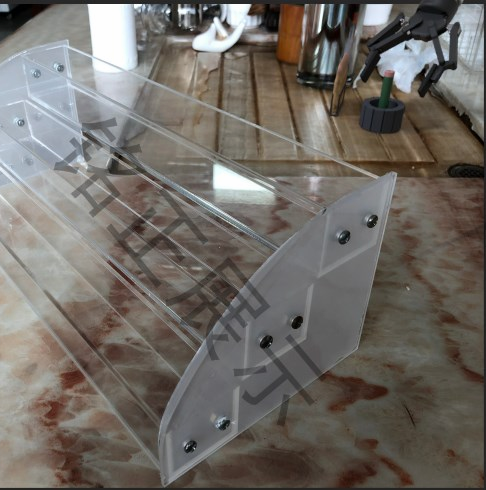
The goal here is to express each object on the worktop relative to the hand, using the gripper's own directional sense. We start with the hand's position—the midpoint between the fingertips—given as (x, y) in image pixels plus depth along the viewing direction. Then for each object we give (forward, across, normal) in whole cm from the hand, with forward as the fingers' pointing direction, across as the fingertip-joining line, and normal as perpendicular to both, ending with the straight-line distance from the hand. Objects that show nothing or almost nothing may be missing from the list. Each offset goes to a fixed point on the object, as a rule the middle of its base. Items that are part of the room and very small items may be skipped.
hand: (390, 86), depth 127 cm
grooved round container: (+7, 0, -5) cm, 8 cm away
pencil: (+7, 0, -5) cm, 8 cm away
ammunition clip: (+6, +13, -7) cm, 15 cm away
